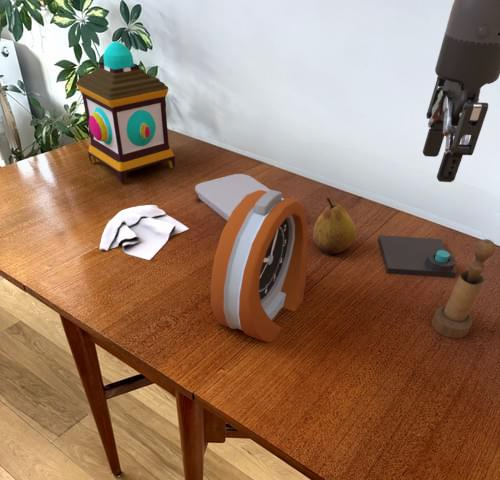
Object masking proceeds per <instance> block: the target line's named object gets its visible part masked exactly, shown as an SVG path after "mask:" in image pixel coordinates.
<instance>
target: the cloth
mask: <svg viewBox="0 0 500 480" xmlns="http://www.w3.org/2000/svg"><path fill="white" fill-rule="evenodd" d="M104 227H105V228H104V230H103V232H102V235H101V237H100V239H101V240H100V244H99V251H107V252H108V251H109V250H113V249H115V248H118V247H119V244H120V243H121V245H122V246H121V247H122V251H123V253H124V254H127V255H129V256H131V257H136V258H139V259H143V260H147V261H151V260H152V259H153V258H154V257H155V256H156V255H157V253H158V252H159V251H160V250H162V248H163V247H164V246H165V245H166V244H167V242H168V241H169V238H170V237H173V236H175V235H178V234H180V233H183V232H186V231H189V230H190V228H189V227H188V226H186V225H184V224H183V223H181V222H180V221H178V220H177V219H175V218H173V217H172V216H170V215H168V214H167V213H166V212H165V211H164V210H163V209H161V208H159V207H158V205H155V204H146V205H138V206H132V207H128V208H124V209H122V210H120V211H118V212H117V213H116V214H115V215H114V217H113V218H112V219H110V220H109V221H108V222H107V224H106V225H105V226H104Z"/></svg>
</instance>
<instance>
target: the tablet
mask: <svg viewBox="0 0 500 480" xmlns="http://www.w3.org/2000/svg"><path fill="white" fill-rule="evenodd" d="M194 189H195V190H194V191H195V194H197V197H198V198H199V200H201V202H203V203H204V204H206V205H207V206H208V207H209V208H211V209H212V210H213V211H214V212H216V213H217V214H218V215H220V217H222V218H223V219H224V220H226V222H227V221H228V220H229V218H230V216H231V214H232V212H233V210H234V209H235V208H236V206H237V205H238V204H239V203H240V202H241V201H242V199H243V198H244V197H245V196H246V195H248V194H250V193H253V192H255V191H257V190H263V191H267V192H268V191H271V190H272V189H270V188H268V187H267V186H266V185H264V184H262V183H261V182H260V181H259V180H257V179H255V178H253V177H252V176H250V175H249V174H245V173H234V174H230V175H226V176H222V177H218V178H215V179H211V180H206V181H202V182H200V183H198V184H196V185H195V188H194ZM281 199H284V198H283V197H282V198H281Z"/></svg>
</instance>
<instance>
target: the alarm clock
mask: <svg viewBox="0 0 500 480" xmlns="http://www.w3.org/2000/svg"><path fill="white" fill-rule="evenodd" d="M270 190H271V191H268V192H267V191H263V190H257V191H255V192H253V193H250V194H248V195H246V196H245V197H244V198H243V199H242V201H241V202H240V203H239V204H238V205H237V206H236V208H235V209H234V210H233V212H232V214H231V216H230V218H229V220H228V221H227V220H226V223H225V226H224V228H223V229H222V231H221V234H220V236H219V241H218V244H217V248H216V252H215V254H214V258H213V264H212V271H211V276H210V277H211V278H210V306H211V310H212V314H213V317H214V318H215V319H216V321H217V322H218V323H219V324H220V325H222V326H224V327H226V328H229V329H232V330H236V329H238V330H240V331H242V332H243V333H244V335H246V336H248V337H252V338H254V339H256V340H258V341H261V342H266V343H270V342H273V341H274V339H275V338H276V337H277V335H278V334H279V333H280V332H281V330H282V327H281V326H279V324H276V323H275V322H274V321H273V319H274V318H275V317H276V316H277V314H278V313H279V312H280V311H281V309H282V308H283V309H286V310H288V311H292V312H296V311H297V310H298V308H299V307H300V305H301V304H302V303H303V301H304V296H305V291H306V282H307V274H308V256H309V253H308V252H309V251H308V249H309V247H308V246H309V245H308V244H309V235H308V223H307V222H308V221H307V216H306V210H305V206H304V205H303V204H302V203H301V202H299V201H297V200H296V199H294V198H290V197H286V198H283V197H282V196H283V193H282V191H279V190H274V189H270ZM281 198H283V199H281Z"/></svg>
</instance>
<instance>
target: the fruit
mask: <svg viewBox="0 0 500 480" xmlns="http://www.w3.org/2000/svg"><path fill="white" fill-rule="evenodd" d="M326 201H327V202H328V203H329V205H328V206H326V207H325V209H324V210H323V211H322V213H321V214H320V215H319V216H318V218H317V219H316V221H315V223H314V226H313V231H312V233H313V234H312V238H313V242H314V244H315V246H316V248H317V249H318V250H319V251H321V252H322V253H324V254H326V255H336V254H340V253H343V252H344V251H345V250H347V249H348V248H350V247H351V245H352V243H353V242H354V240H355V237H356V227H355V224H354V222H353V219H352V217H351V216H350V215H349V213H348V212H347V211H346V209H344V207H343V206H342V205H340V204H339V203H332V201H331V199H330V198H329V197H326Z"/></svg>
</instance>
